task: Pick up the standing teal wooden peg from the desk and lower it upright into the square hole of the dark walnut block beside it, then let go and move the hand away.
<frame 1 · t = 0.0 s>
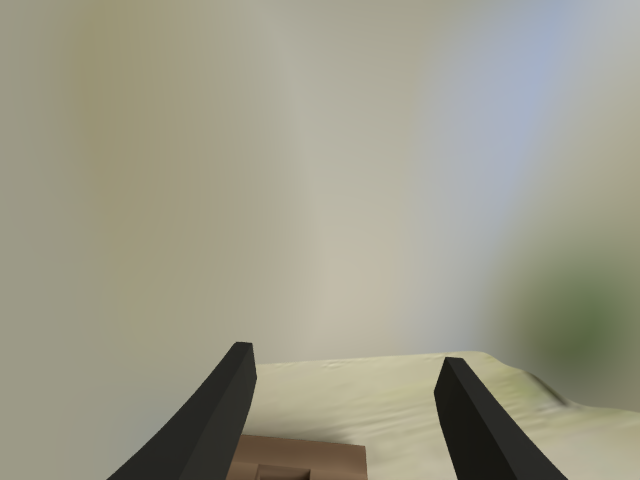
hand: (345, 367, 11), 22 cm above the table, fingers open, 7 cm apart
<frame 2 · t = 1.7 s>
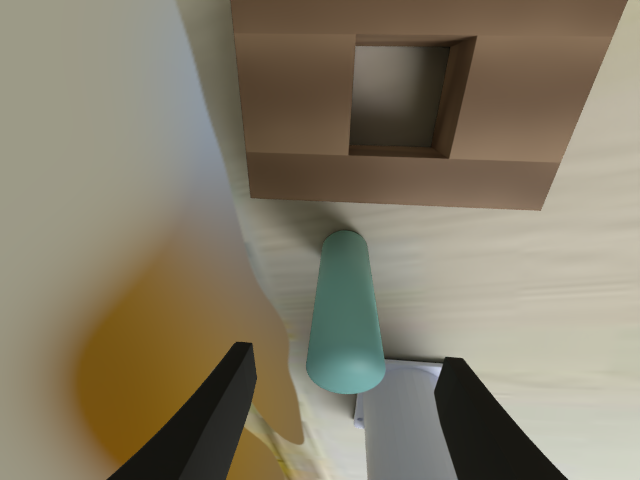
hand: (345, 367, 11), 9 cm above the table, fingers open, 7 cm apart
peg: (344, 250, 19), on the table
hole block: (394, 99, 14), on the table
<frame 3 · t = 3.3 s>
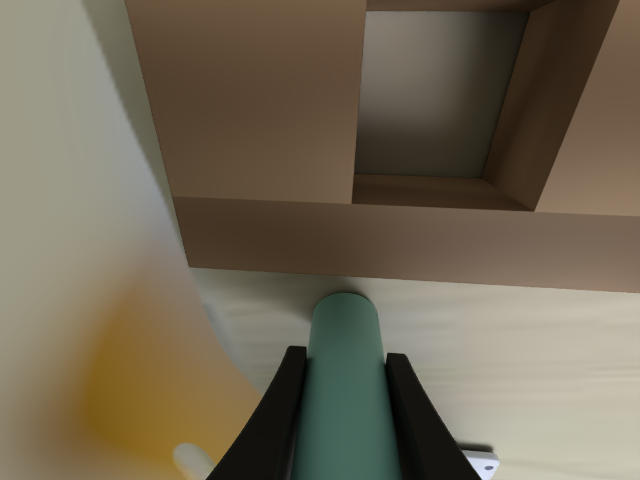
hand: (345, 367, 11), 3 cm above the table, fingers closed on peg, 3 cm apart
peg: (344, 318, 13), on the table, touching gripper
hole block: (427, 103, 9), on the table
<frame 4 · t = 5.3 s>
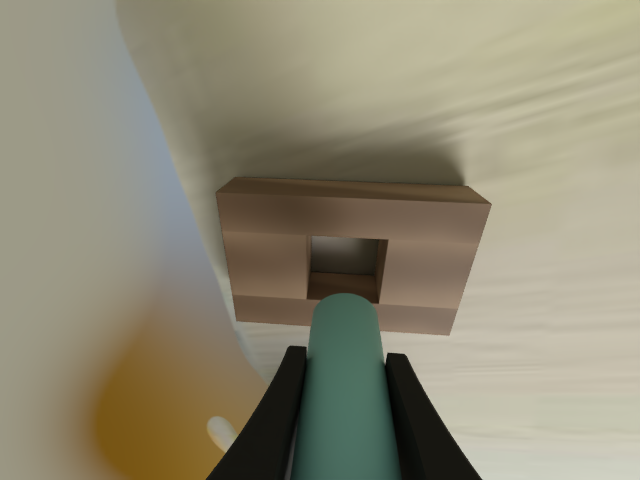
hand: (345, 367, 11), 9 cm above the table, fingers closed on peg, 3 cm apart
peg: (344, 318, 13), point 7 cm above the table, touching gripper
hole block: (344, 246, 19), on the table
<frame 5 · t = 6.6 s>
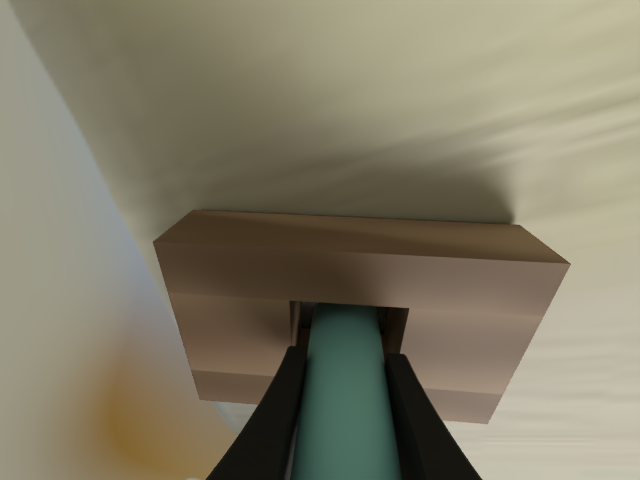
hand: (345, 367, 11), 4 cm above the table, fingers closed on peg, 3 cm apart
peg: (344, 318, 13), point 1 cm above the table, touching gripper
hole block: (344, 299, 14), on the table
when the fingers open (4 cm above the table, at t = 7.5 s): peg drops 1 cm, resting in hole block.
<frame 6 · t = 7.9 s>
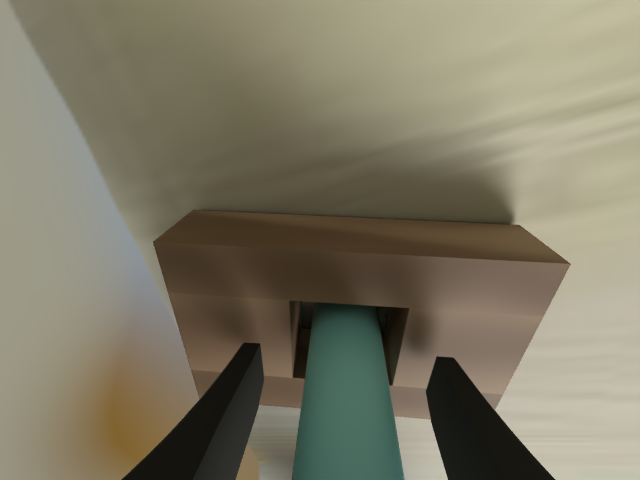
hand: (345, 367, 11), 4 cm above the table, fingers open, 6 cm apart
peg: (344, 298, 14), resting in hole block
hole block: (344, 299, 14), on the table
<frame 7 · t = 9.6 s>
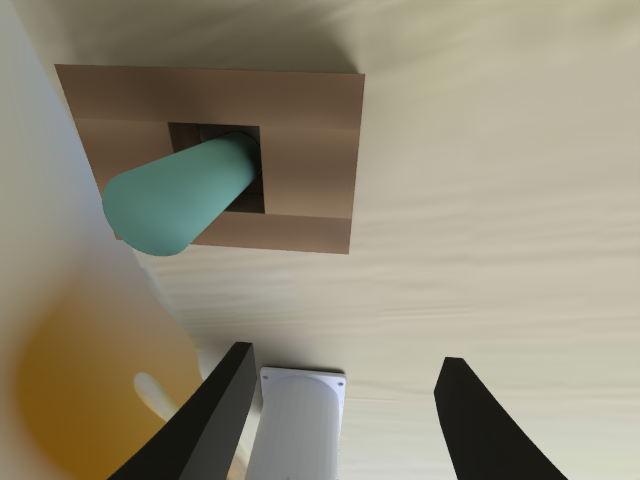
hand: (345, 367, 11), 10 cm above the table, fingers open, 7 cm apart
peg: (238, 158, 17), resting in hole block
hole block: (238, 158, 17), on the table
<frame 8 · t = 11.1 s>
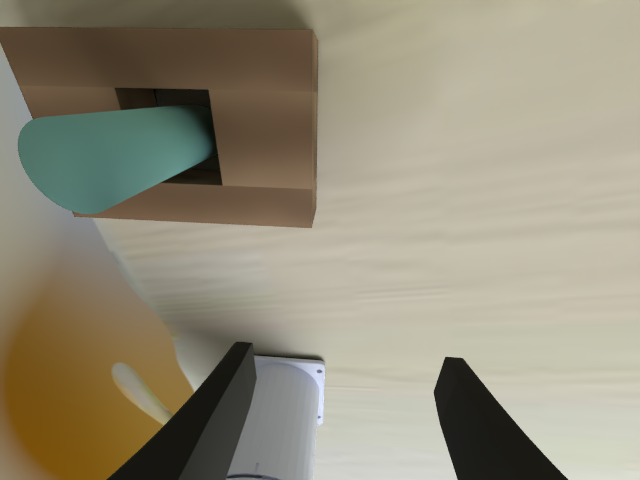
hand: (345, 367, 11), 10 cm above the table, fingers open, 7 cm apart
peg: (199, 132, 17), resting in hole block
hole block: (199, 132, 17), on the table
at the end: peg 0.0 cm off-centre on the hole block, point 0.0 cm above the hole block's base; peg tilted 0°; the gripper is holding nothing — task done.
